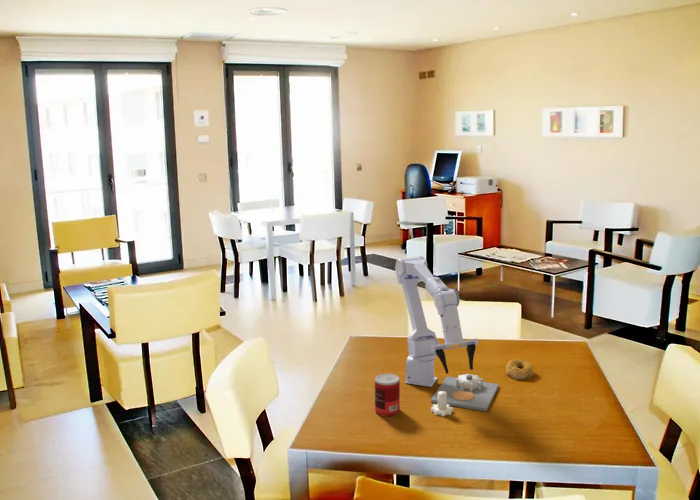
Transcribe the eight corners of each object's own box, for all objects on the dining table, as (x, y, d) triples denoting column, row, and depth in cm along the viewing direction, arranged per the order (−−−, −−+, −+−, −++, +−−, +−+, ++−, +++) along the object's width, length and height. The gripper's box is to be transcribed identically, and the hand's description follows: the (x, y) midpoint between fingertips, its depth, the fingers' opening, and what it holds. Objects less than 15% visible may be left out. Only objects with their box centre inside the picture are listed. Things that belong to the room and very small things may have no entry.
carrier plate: (430, 402, 209) (431, 389, 208) (446, 379, 227) (447, 367, 226) (486, 411, 202) (487, 398, 201) (498, 386, 220) (498, 374, 219)
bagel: (503, 378, 227) (503, 365, 226) (507, 367, 237) (508, 355, 236) (532, 383, 223) (533, 370, 222) (535, 371, 233) (536, 359, 232)
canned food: (402, 407, 206) (402, 374, 203) (395, 418, 198) (395, 384, 196) (379, 404, 208) (379, 372, 206) (371, 414, 201) (371, 381, 198)
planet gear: (428, 414, 201) (429, 395, 199) (434, 405, 206) (434, 387, 205) (449, 417, 198) (449, 398, 197) (454, 408, 204) (454, 390, 203)
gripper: (429, 331, 200) (437, 375, 197) (476, 324, 199) (484, 368, 197) (428, 331, 207) (435, 374, 204) (473, 324, 206) (481, 367, 204)
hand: (459, 371), depth 201 cm, fingers open, 7 cm apart
